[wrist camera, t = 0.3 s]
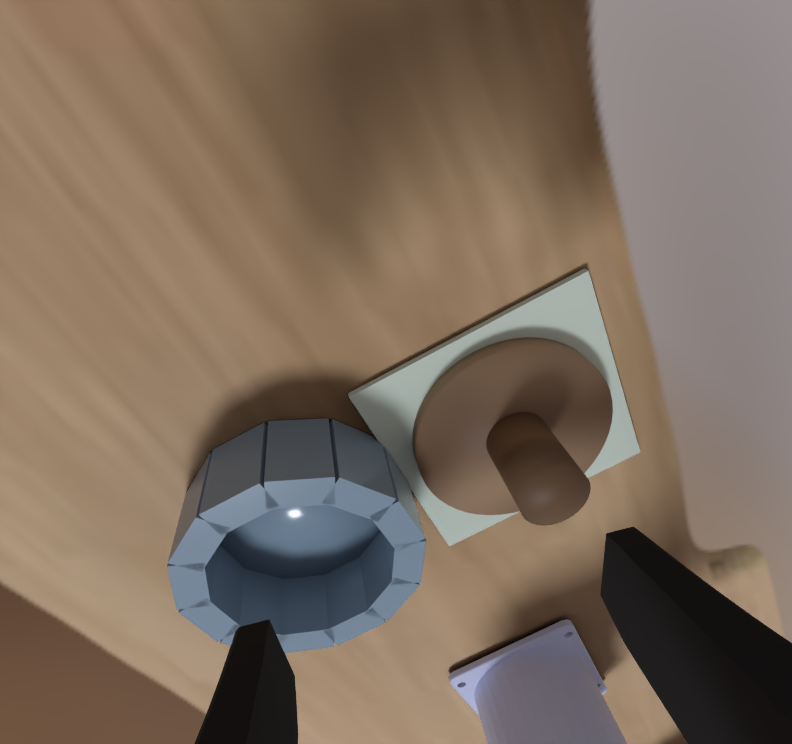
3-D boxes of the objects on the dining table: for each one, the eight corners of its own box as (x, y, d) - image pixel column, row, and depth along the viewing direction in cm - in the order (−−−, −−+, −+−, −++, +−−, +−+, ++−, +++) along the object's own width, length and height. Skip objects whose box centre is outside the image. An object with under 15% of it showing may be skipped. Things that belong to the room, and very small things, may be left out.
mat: (636, 448, 24) (640, 452, 23) (447, 541, 24) (449, 546, 24) (584, 268, 19) (588, 270, 18) (347, 393, 19) (348, 397, 19)
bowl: (438, 523, 24) (459, 586, 21) (270, 607, 24) (266, 679, 21) (342, 380, 19) (352, 434, 16) (138, 488, 20) (110, 560, 17)
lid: (620, 448, 23) (684, 516, 19) (458, 529, 24) (489, 610, 20) (573, 298, 19) (642, 349, 15) (376, 402, 19) (396, 475, 16)
